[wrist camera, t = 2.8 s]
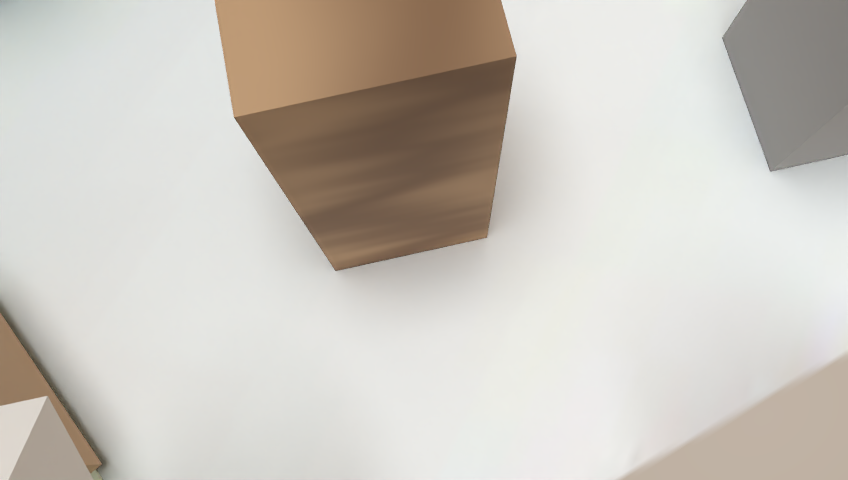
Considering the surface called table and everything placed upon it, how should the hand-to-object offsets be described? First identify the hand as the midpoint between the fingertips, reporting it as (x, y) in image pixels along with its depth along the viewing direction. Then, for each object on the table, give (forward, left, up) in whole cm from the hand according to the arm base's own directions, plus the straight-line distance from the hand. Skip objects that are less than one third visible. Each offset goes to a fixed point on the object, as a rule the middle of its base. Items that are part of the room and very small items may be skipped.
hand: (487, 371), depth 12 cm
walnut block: (-7, +3, -12) cm, 14 cm away
